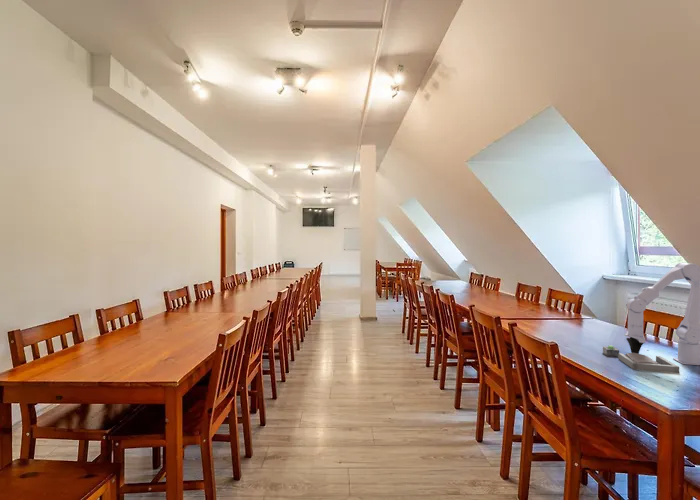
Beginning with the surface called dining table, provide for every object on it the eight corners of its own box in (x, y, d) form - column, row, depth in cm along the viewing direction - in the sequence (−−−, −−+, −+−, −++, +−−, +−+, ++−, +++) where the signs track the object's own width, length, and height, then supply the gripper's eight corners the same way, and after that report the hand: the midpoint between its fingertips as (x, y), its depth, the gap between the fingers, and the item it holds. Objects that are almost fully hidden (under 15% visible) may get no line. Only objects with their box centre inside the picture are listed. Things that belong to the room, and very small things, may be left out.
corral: (659, 361, 169) (660, 356, 169) (679, 373, 154) (679, 367, 154) (618, 358, 173) (618, 353, 173) (633, 369, 158) (633, 363, 158)
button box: (614, 353, 181) (614, 347, 181) (619, 356, 176) (619, 350, 176) (602, 352, 182) (602, 346, 182) (606, 355, 178) (606, 349, 178)
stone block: (647, 366, 169) (622, 359, 171) (650, 355, 168) (624, 349, 171) (660, 376, 157) (633, 369, 160) (664, 365, 157) (636, 358, 160)
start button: (612, 354, 180) (612, 345, 180) (614, 355, 178) (614, 346, 178) (607, 353, 181) (607, 345, 181) (609, 354, 179) (609, 346, 179)
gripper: (618, 321, 183) (618, 349, 183) (632, 328, 169) (631, 358, 169) (636, 322, 181) (635, 350, 181) (651, 329, 167) (650, 359, 167)
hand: (635, 354), depth 175 cm, fingers closed
